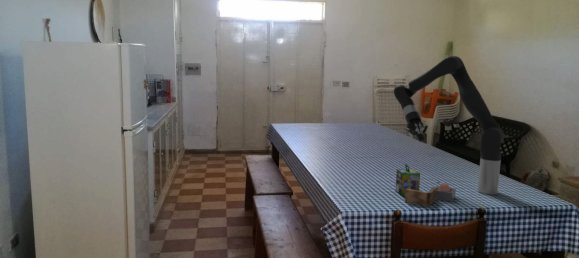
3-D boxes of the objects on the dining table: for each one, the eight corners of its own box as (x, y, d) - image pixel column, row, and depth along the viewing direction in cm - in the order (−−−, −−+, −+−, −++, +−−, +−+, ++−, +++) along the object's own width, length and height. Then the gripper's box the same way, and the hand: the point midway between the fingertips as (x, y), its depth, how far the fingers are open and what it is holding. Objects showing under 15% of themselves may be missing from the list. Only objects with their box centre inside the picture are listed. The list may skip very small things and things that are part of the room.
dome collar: (455, 196, 209) (455, 188, 208) (451, 201, 201) (452, 193, 201) (436, 193, 213) (436, 185, 213) (431, 198, 206) (432, 190, 205)
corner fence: (435, 200, 203) (436, 187, 202) (429, 206, 193) (430, 193, 192) (411, 196, 209) (412, 184, 208) (404, 201, 199) (405, 189, 198)
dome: (450, 195, 208) (451, 183, 207) (448, 198, 203) (449, 185, 203) (438, 193, 211) (439, 181, 210) (436, 196, 206) (437, 183, 205)
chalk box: (419, 196, 208) (421, 166, 206) (401, 196, 208) (402, 166, 206) (412, 190, 218) (414, 162, 215) (394, 191, 217) (396, 162, 215)
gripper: (403, 110, 230) (413, 137, 220) (425, 110, 233) (436, 136, 224) (398, 119, 236) (407, 145, 226) (419, 119, 239) (430, 144, 229)
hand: (422, 140), depth 225 cm, fingers closed
